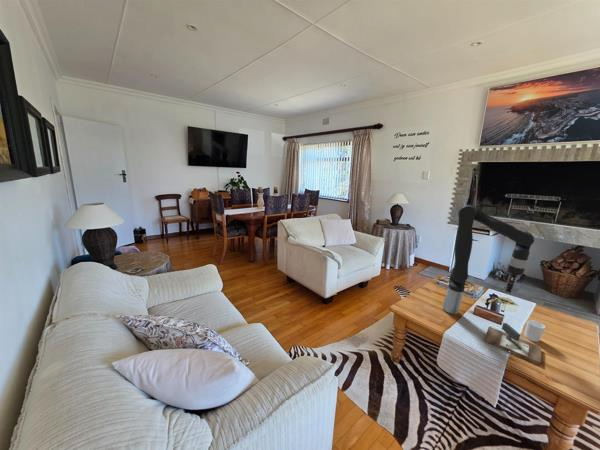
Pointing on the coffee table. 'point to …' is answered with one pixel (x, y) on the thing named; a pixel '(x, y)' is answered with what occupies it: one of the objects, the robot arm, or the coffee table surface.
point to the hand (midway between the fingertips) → (509, 289)
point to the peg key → (511, 333)
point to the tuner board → (527, 351)
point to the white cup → (534, 330)
